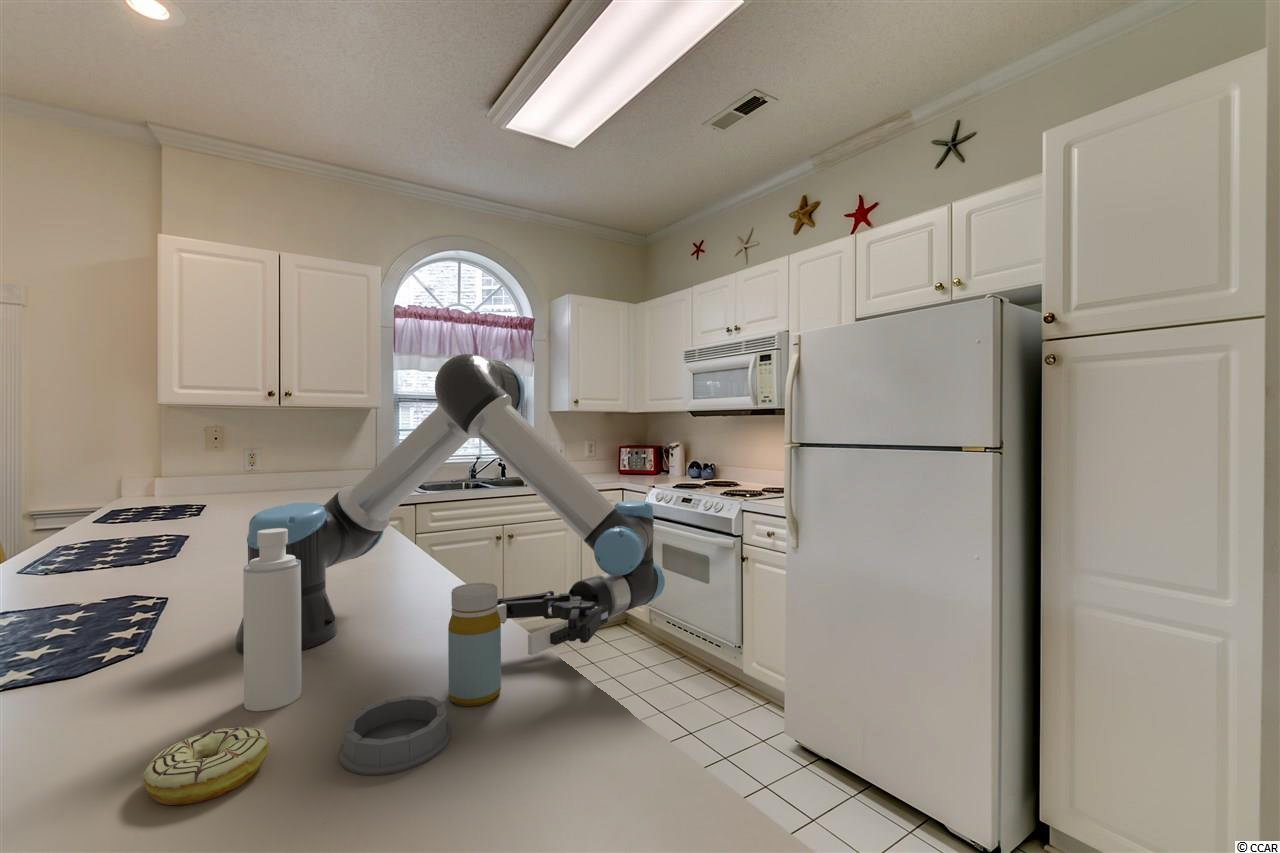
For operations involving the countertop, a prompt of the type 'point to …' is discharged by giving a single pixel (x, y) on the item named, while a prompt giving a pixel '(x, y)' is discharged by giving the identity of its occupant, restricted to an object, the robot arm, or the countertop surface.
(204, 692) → the countertop surface
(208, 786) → the decorated donut
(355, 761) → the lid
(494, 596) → the bottle
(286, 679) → the spray bottle
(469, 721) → the countertop surface
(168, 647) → the countertop surface
